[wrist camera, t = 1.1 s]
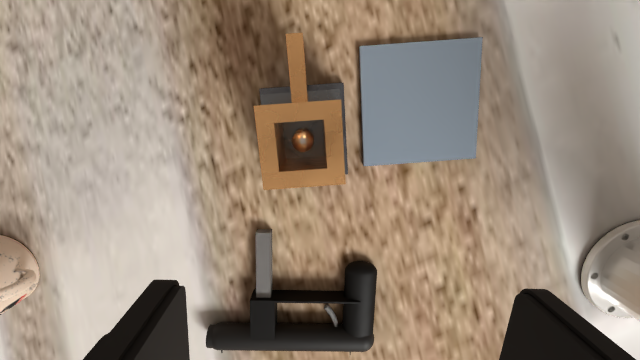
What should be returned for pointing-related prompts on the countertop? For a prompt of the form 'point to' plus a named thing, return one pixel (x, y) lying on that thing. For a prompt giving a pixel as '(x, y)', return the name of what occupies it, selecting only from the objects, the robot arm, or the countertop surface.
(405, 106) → the rubber pad
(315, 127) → the grey block
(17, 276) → the teacup with lid
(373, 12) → the countertop surface
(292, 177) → the wooden hollow block
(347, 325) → the door handle
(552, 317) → the robot arm
